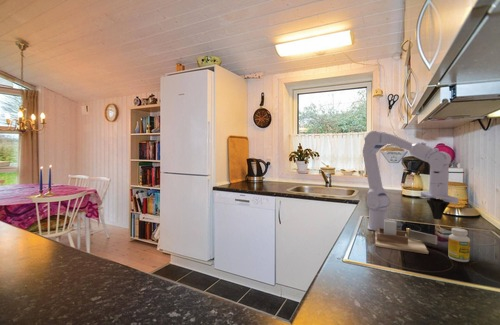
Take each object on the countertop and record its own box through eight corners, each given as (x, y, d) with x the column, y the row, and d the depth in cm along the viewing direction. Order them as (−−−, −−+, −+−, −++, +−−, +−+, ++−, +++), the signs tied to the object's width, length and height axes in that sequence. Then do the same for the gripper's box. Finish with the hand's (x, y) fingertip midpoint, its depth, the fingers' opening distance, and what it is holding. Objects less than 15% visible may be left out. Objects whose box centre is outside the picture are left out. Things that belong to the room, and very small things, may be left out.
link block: (383, 236, 100) (384, 219, 100) (395, 238, 98) (395, 220, 98) (384, 239, 96) (384, 221, 96) (396, 241, 95) (396, 222, 94)
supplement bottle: (457, 255, 84) (458, 226, 84) (474, 262, 79) (475, 231, 78) (443, 256, 83) (444, 227, 83) (459, 262, 78) (460, 232, 78)
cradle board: (375, 232, 108) (375, 224, 108) (419, 238, 101) (419, 230, 100) (375, 245, 91) (375, 236, 91) (428, 254, 84) (428, 244, 84)
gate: (405, 236, 99) (405, 228, 99) (407, 236, 99) (407, 227, 99) (435, 244, 90) (435, 235, 90) (437, 244, 91) (437, 234, 91)
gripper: (414, 181, 102) (413, 214, 102) (446, 185, 87) (444, 224, 88) (430, 181, 102) (429, 214, 103) (464, 185, 88) (462, 224, 88)
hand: (437, 219), depth 95 cm, fingers closed
